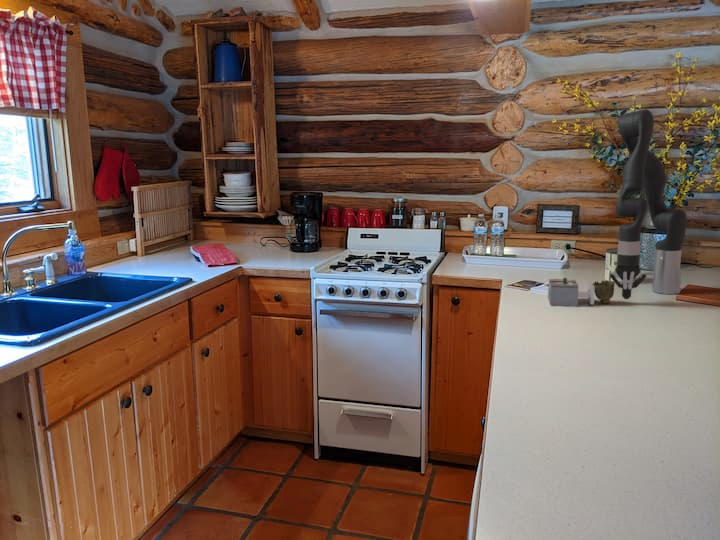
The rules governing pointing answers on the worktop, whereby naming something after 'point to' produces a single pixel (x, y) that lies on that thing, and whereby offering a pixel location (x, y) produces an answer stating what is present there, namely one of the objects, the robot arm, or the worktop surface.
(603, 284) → the cup
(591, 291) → the plunger
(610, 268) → the coffee can
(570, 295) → the gauge housing
